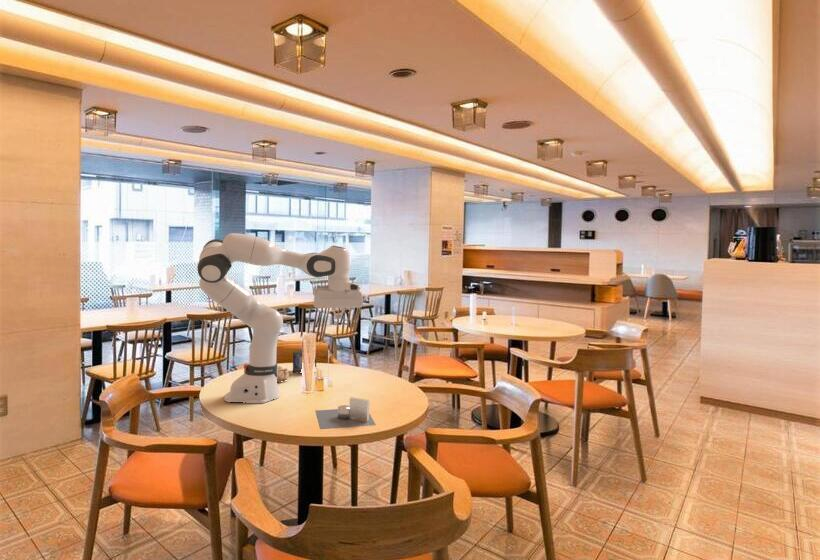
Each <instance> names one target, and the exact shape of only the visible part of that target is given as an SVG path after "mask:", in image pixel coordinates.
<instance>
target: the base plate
mask: <svg viewBox="0 0 820 560" xmlns="http://www.w3.org/2000/svg"><path fill="white" fill-rule="evenodd" d="M315 415H316V418H317V422H318V425H319V429H320V430H327V429H340V428H341V429H343V428H355V427H356V428H357V427H367V426H371V427H372V426H376V425H377V424H376V422H375V421H374V419H373V417H372V415H371V414H370V413H369V420H368V421H364V420H359V419H354V418H349V419H340V418H338V408H336V409H335V408H334V409H319V410H316V409H315Z"/></svg>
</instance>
